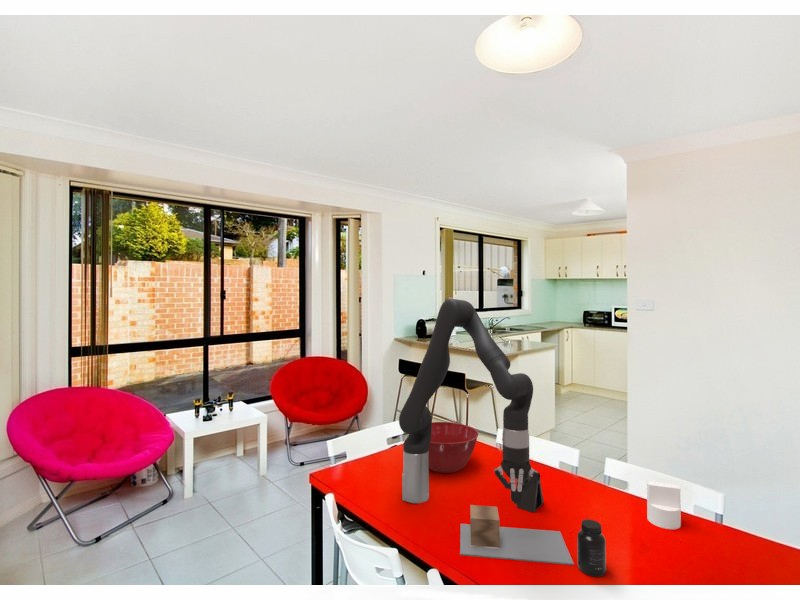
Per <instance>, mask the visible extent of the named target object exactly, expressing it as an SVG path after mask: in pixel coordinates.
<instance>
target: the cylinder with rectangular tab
mask: <svg viewBox="0 0 800 600" xmlns="http://www.w3.org/2000/svg"><path fill="white" fill-rule="evenodd" d="M646 500H647V501H646V506H647V507H646V508H647V509H646V513H647V517H646V518H647V521H649V522H650V523H651V524H652V525H654V526H656V527H659V528H661V529H666V530H677V529H680V528H681V526H682V519H681V515H682V514H681V512H682V511H681V509H682V508H681V507H682V506H681V500H682V499H681V487H680V486H679V485H678V484H673V483H665V482H658V481H657V482H656V481H646Z"/></svg>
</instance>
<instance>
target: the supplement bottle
mask: <svg viewBox="0 0 800 600" xmlns="http://www.w3.org/2000/svg"><path fill="white" fill-rule="evenodd" d="M580 524H581V526H580V530H579V531H578V532H577V537H576V539H577V544H576V546H577V549H576V550H577V567H578V568H579V570H580V571H581V572H582V573H583V574H585V575H587V576H590V577H596V578H598V577H602V576H604V575H605V574H606V572H607V549H606V548H607V546H606V545H607V544H606V543H607V542H606V537H605V536H604V534H603V533H602V532H603V530H602V523H600V522H599V521H596V520H594V519H589V518H588V519H585V518H584V519H583V520H581V523H580Z"/></svg>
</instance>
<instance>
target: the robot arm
mask: <svg viewBox="0 0 800 600" xmlns="http://www.w3.org/2000/svg"><path fill="white" fill-rule="evenodd" d="M434 324H435V325H434V329H433V332H432V335H431V338H430V341H429V344H428V346H427V350H426V352H425V354H424V357H423V359H422V362H421V363H420V367H419V369H418V373H417V376H416V378H415V380H414V382H413V385H412V388H411V390H410V393H409V394H408V395H409V396H408V397H407V398H406V399H407V400H406V401H405V403H404V405H403V407H402V408H401V411H400V413H399V418H398V424H399V428H400V430H401V431H403V433H405V434H408V436H407V438H406V439H404V442H403V446H402V450H403V452H402V453H403V456H402V458H403V459H402V460H403V462H402V464H403V466H402V468H403V469H402V470H403V471H402V474H401V478H402V480H401V481H402V483H401V485H402V487H401V488H402V491H401V493H402V497H401V498H402V499H401V500H402V501H404V502H408V503H411V504H421V503H422V504H423V503H425V502H427V501H429V498H430V488H429V487H430V473H429V472H430V469H429V444H430V442H431V429H432V422H433V421H432V420H433V418H432V413H431V411H430V409H429V408H428V406H427V404H428V403H429V400H430V399H431V398H432V397H433V395H435V393H436V392H437V390H439V388H440V386H441V385H442V384H443V382H444V380H445V378H446V376H447V373H448V370H449V367H450V364H451V356H450V349H449V348H450V347H449V346H450V345H449V344H450V339H451V337H452V334H453V331H454V330H455V328H462V329H463V330H464V331H466V332H467V334H468V335H469V336H470V337H471V339H472V341H473V343H474V349H475V352H476V354H477V357H478V359H479V360H480V362H481V363H482V364H483V365H484V367H485V368H486V369H487V371H488V372H489V373H490V376H491V379H492V382H493V384H494V387H495V389H496V391H497V392H498V394H499V395H500V396H501V397H503V399H505V400H508V401H510V403H509V404H508V405H507V406H506V407H504V408H503V415H502V416H503V417H502V418H503V419H502V421H503V424H502V426H503V427H502V438H501V441H502V461H501V462H500V466H498V467H494V469H493V473H494V475H495V477H497V479H498V480H499V481H500V483H501V484H502V485H503V486H504V488H505V489H507V490H508V489H509V490H510V500H511V502H512V503H513V505H517V504H519V502H521V492H522V490H527V489H528V488H529V487H530V486H531V485H532V484H533V482H534V481H535V480H536V479H537V478H538V476H539V475H538V470H536V469H534V468H532V464H531V463H530V433H529V431H530V430H529V411H530V408H531V405H532V400H533V396H534V385H533V381H532V379H531V378H530V376H528V375H527V374H526V373H521V372H520V373H514V374H511V373H510V372H509V369H510V368H511V360H510V359H509V358H508V356H507V355H506V354H505V352H504V351H503V350H502V349H501V348H500V346H498V344H497V343H496V342H495V340H494V339H493V338H492V336H491V334H490V332H488V329H487V328H486V327H485V324H484V323H483V321H482V319H481V318H480V316H479V314H478V312H477V310H476V308H475V307H474V306H473V304H472V303H470V301H468V300H465V299H463V300H462V299H457V298H448V299H446V300H445V301H443V303H442V304H441V306H440V308H439V311H438V314H437V318H436V321H435V323H434ZM529 471H530V472H529ZM528 472H529V477H528V478H527V479H526V480H525V481H524V483H523V478H525V476H526V475H527V474H528ZM504 473H505V474H506V477H508V478H509V482H508V480H507V478H506V477H505V476H504V475H503V474H504Z"/></svg>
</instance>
